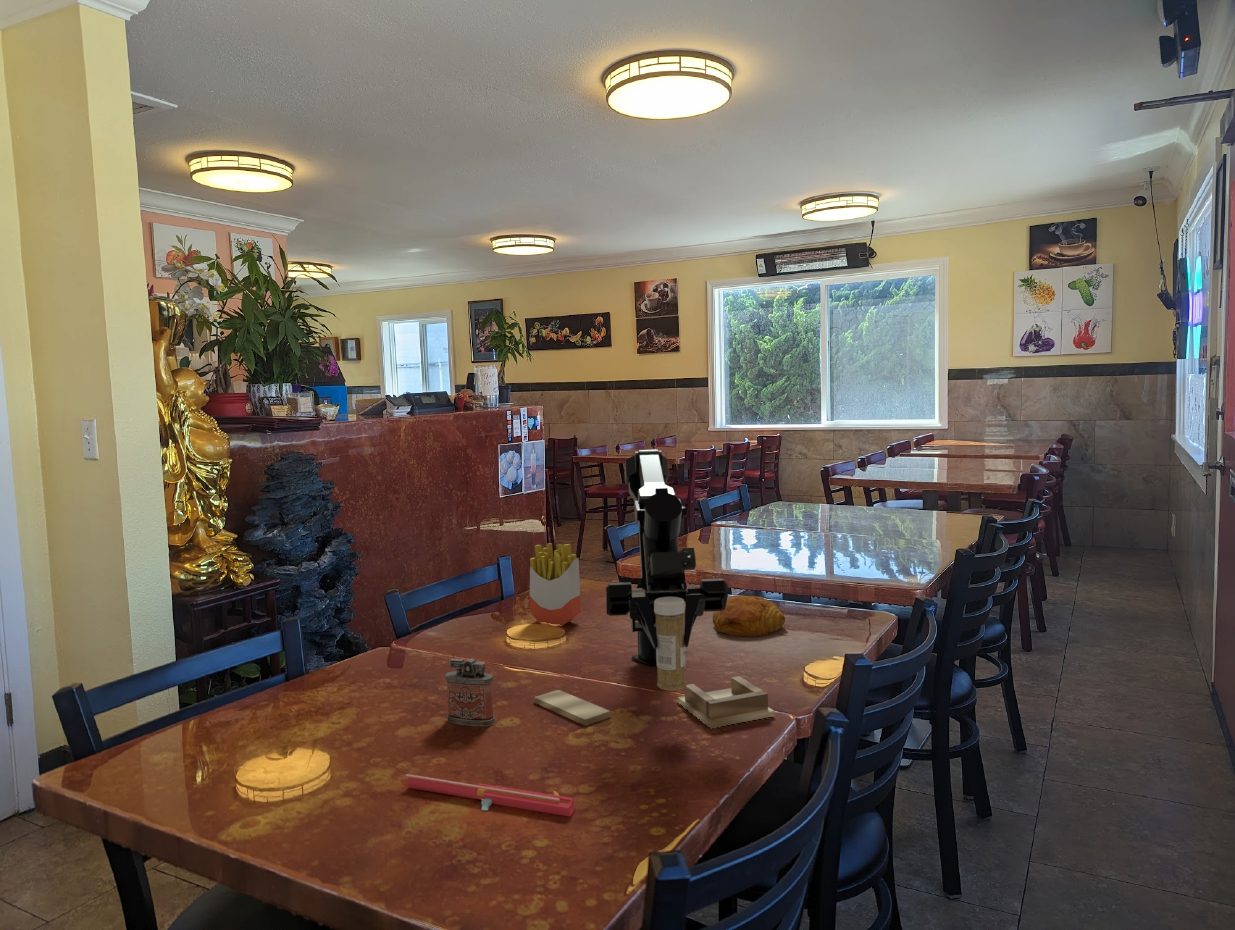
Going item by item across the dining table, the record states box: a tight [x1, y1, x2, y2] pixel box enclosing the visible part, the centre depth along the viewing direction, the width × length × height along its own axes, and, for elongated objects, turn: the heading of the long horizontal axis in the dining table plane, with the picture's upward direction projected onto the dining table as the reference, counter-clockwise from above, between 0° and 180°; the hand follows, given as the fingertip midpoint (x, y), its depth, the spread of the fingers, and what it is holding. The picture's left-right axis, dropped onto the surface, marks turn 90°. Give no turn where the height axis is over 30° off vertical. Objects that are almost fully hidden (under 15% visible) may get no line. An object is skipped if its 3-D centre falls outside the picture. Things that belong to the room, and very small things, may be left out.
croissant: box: [712, 594, 786, 637], centre depth 180 cm, size 14×16×8 cm
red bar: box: [405, 773, 576, 817], centre depth 106 cm, size 24×2×5 cm
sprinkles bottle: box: [654, 597, 688, 692], centre depth 126 cm, size 5×5×13 cm
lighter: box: [444, 657, 496, 727], centre depth 132 cm, size 8×3×10 cm, turn 71°
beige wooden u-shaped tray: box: [677, 675, 775, 730], centre depth 134 cm, size 12×11×4 cm
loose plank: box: [533, 689, 611, 727], centre depth 136 cm, size 14×5×2 cm, turn 40°
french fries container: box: [529, 542, 582, 626], centre depth 189 cm, size 5×11×18 cm, turn 64°
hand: (671, 646), depth 125 cm, fingers closed on sprinkles bottle, 4 cm apart
